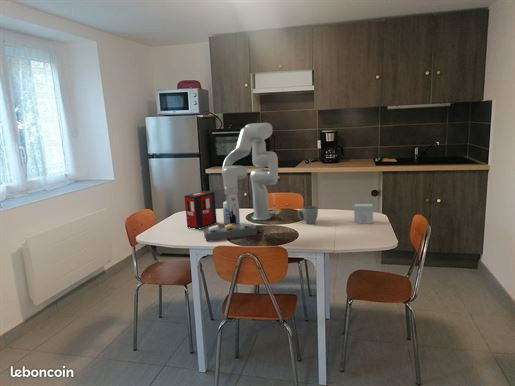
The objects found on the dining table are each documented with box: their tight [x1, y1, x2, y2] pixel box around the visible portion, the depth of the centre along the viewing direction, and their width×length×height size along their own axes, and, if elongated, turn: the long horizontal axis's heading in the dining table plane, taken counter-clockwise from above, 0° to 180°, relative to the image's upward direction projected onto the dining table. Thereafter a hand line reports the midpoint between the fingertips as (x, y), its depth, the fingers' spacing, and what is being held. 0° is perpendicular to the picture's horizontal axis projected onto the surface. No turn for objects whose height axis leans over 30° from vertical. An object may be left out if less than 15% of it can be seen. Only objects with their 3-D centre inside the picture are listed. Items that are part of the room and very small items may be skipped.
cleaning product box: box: [184, 190, 218, 230], centre depth 236 cm, size 16×9×20 cm, turn 143°
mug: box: [297, 205, 319, 226], centre depth 229 cm, size 12×9×10 cm
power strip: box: [203, 223, 265, 242], centre depth 213 cm, size 33×8×5 cm, turn 105°
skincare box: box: [353, 203, 374, 225], centre depth 225 cm, size 10×6×10 cm, turn 76°
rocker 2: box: [240, 221, 252, 226], centre depth 214 cm, size 5×4×1 cm
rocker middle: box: [224, 224, 235, 229], centre depth 212 cm, size 5×4×1 cm
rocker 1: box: [207, 224, 220, 231], centre depth 210 cm, size 5×4×1 cm
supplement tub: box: [222, 200, 241, 227], centre depth 232 cm, size 10×10×15 cm
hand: (233, 223), depth 212 cm, fingers closed
